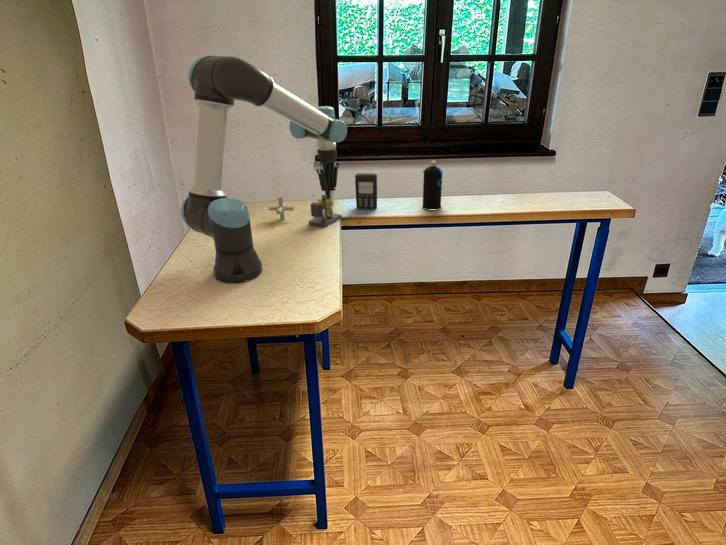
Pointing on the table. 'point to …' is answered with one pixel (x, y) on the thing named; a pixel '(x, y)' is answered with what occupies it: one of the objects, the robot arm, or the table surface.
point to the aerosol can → (432, 187)
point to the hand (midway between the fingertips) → (330, 205)
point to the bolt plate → (337, 216)
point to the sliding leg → (326, 205)
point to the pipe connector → (281, 208)
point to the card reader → (366, 191)
